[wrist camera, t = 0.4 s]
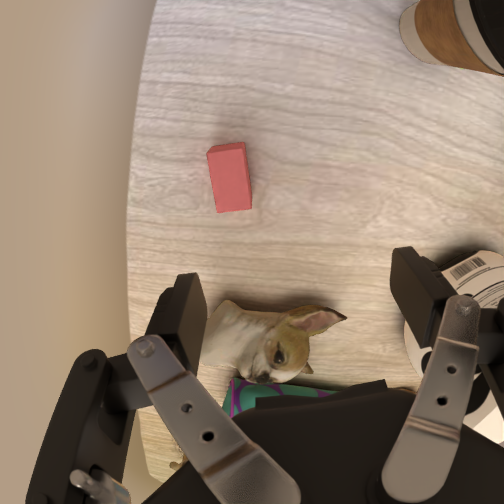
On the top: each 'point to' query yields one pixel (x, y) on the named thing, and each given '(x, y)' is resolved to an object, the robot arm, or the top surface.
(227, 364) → the ceramic sculpture
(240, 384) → the pencil case
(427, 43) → the coffee cup
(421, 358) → the milk container
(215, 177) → the eraser
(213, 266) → the top surface
